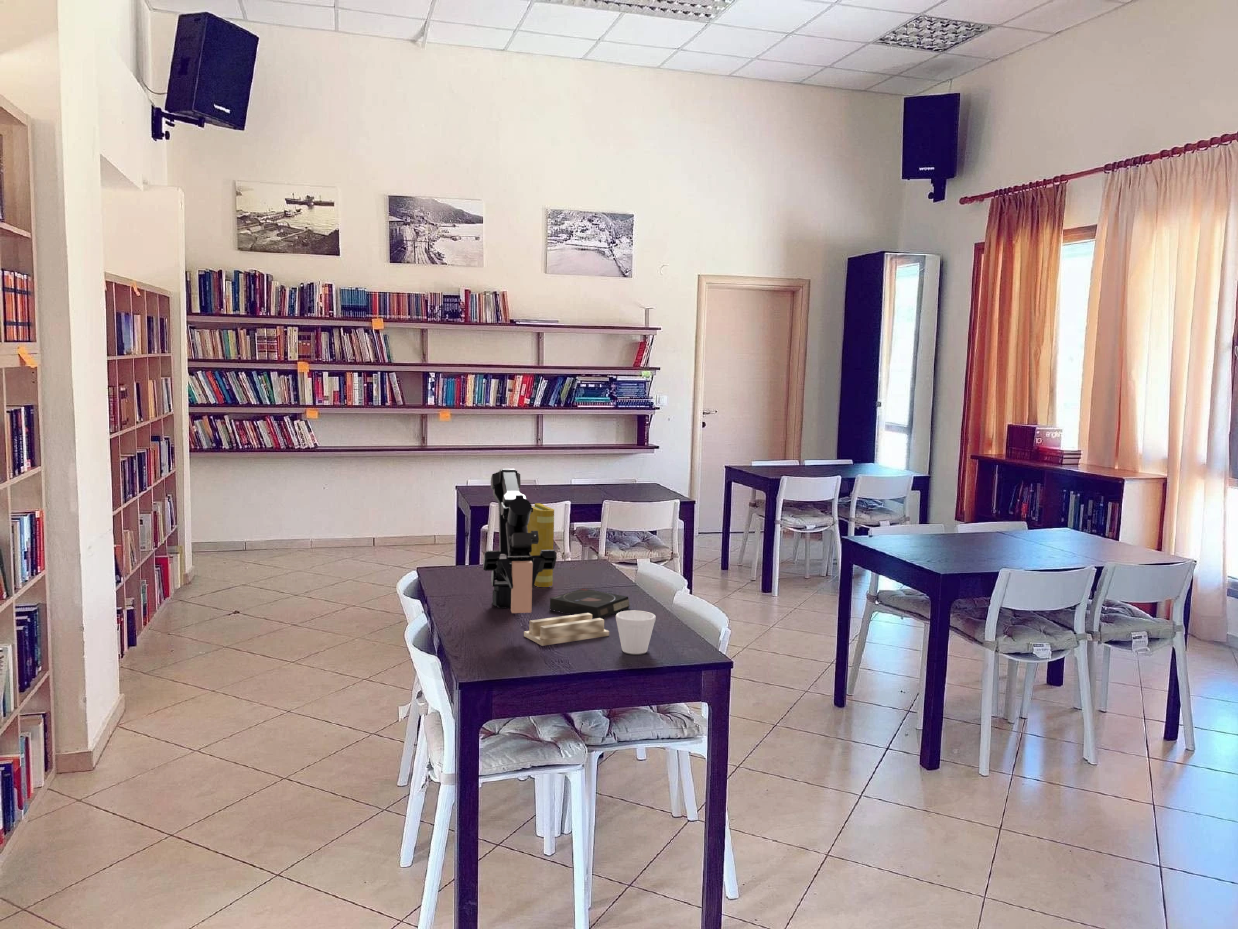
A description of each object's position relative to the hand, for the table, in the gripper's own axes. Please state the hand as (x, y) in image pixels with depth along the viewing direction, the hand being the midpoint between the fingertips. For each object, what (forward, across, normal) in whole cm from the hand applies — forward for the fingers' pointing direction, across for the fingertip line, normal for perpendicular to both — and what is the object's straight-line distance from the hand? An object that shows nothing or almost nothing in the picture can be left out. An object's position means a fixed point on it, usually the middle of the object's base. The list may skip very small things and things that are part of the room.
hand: (522, 587), depth 238 cm
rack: (+8, +12, +11) cm, 18 cm away
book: (-36, +14, +56) cm, 68 cm away
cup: (+20, +26, 0) cm, 33 cm away
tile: (+4, 0, +6) cm, 7 cm away
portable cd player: (-10, +24, +30) cm, 40 cm away
